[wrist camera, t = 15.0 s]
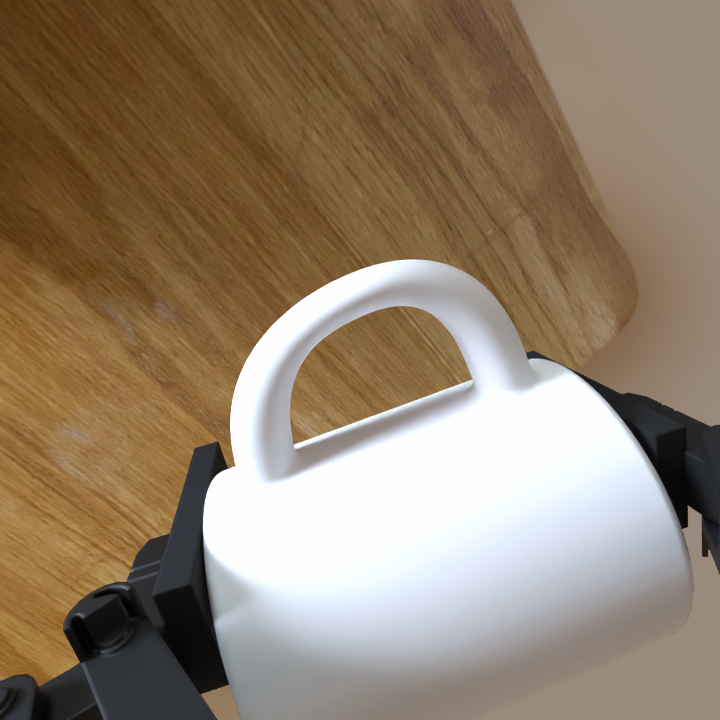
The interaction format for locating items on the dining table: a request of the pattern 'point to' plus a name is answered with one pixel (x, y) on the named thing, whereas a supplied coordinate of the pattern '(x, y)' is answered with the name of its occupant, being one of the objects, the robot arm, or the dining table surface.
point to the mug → (432, 526)
